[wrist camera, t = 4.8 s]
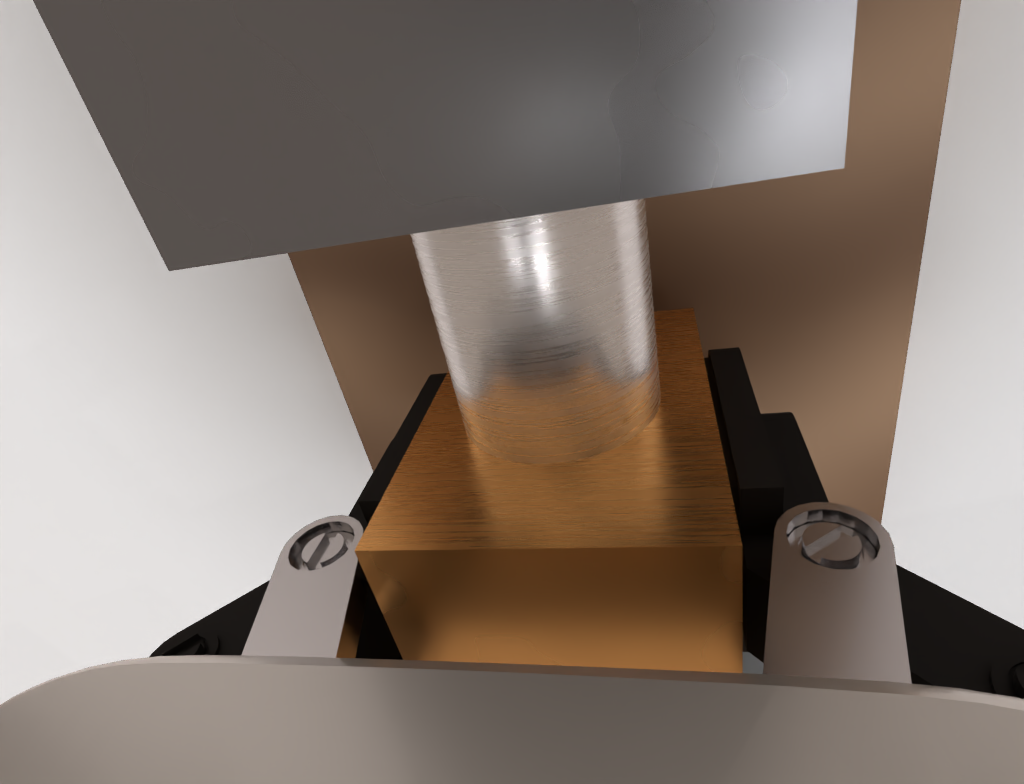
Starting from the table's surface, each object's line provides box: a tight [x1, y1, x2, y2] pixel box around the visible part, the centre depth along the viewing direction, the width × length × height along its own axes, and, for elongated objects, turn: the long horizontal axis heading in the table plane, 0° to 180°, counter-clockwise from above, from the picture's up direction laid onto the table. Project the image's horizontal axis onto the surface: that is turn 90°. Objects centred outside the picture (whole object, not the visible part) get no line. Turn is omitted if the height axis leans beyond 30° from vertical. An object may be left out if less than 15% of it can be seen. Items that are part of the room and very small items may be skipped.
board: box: [288, 0, 961, 524], centre depth 13 cm, size 30×13×2 cm, turn 11°
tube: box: [354, 198, 743, 673], centre depth 8 cm, size 18×4×6 cm, turn 11°
